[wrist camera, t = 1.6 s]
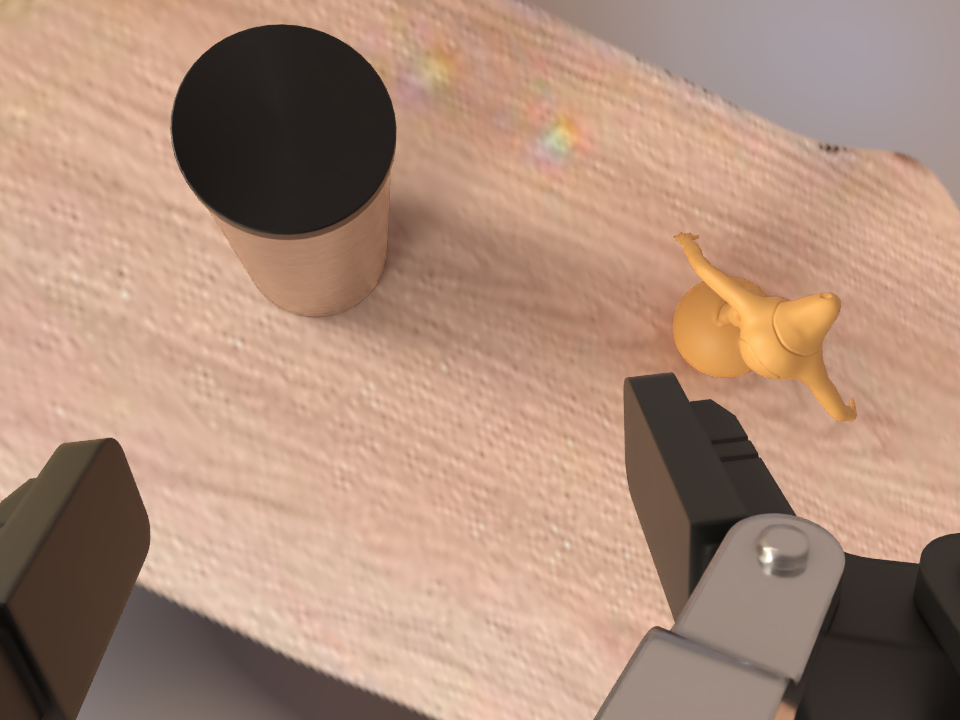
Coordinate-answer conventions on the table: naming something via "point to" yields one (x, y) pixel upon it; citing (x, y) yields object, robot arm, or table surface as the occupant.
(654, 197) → the table surface
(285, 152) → the canister
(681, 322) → the figurine
